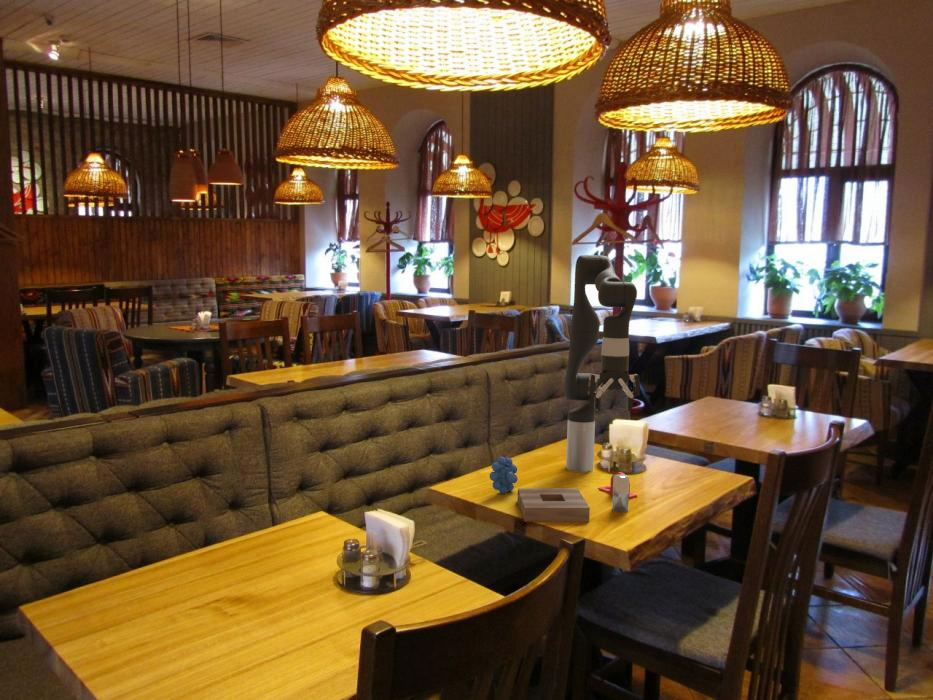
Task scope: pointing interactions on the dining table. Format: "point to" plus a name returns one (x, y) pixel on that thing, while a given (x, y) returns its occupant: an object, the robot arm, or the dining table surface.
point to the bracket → (610, 488)
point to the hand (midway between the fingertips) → (613, 410)
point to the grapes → (503, 474)
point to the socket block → (552, 505)
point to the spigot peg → (620, 493)
